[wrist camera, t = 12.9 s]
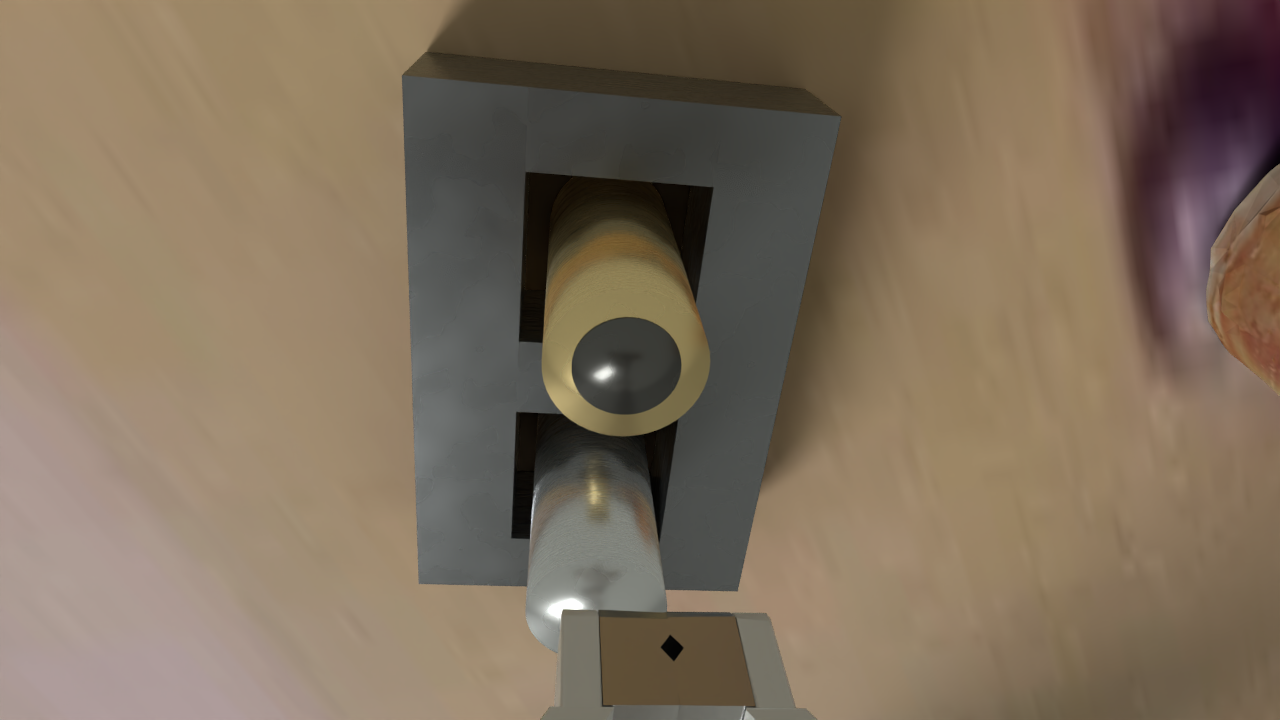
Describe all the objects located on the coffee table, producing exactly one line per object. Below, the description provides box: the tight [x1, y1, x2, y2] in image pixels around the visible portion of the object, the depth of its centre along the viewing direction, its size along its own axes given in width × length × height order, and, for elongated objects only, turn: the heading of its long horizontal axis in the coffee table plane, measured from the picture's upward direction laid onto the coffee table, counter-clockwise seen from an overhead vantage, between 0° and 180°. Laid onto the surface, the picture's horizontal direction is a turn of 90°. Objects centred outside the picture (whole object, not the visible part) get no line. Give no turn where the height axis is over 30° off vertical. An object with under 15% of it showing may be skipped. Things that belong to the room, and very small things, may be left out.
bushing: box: [542, 176, 710, 436], centre depth 24 cm, size 4×4×10 cm
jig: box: [402, 52, 841, 653], centre depth 25 cm, size 18×12×10 cm, turn 174°
